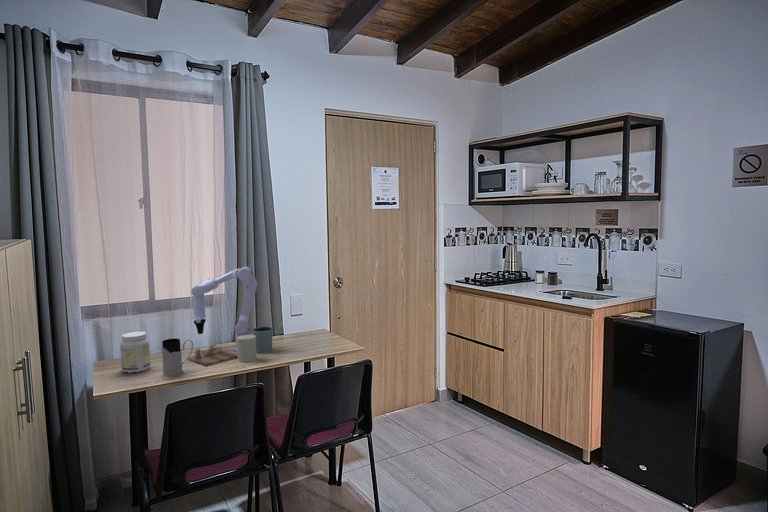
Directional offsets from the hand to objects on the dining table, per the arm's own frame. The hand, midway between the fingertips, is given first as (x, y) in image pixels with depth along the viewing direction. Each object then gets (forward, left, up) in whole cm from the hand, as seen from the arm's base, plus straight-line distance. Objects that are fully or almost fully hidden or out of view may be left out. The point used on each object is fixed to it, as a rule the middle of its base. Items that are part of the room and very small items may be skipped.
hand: (200, 333), depth 257 cm
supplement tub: (+34, +2, -10) cm, 35 cm away
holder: (+23, +21, -10) cm, 33 cm away
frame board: (+3, +16, -10) cm, 19 cm away
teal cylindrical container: (-21, +25, -10) cm, 34 cm away
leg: (+1, +11, -9) cm, 14 cm away
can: (-7, +31, -10) cm, 33 cm away
